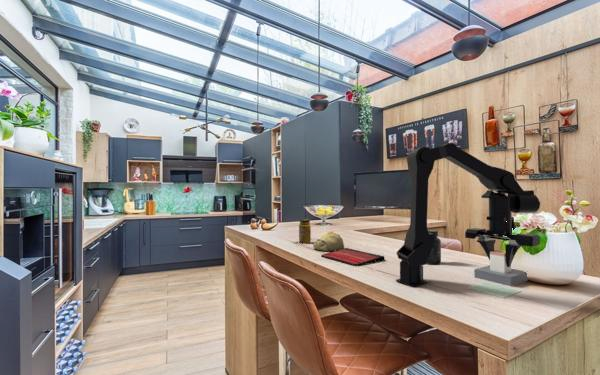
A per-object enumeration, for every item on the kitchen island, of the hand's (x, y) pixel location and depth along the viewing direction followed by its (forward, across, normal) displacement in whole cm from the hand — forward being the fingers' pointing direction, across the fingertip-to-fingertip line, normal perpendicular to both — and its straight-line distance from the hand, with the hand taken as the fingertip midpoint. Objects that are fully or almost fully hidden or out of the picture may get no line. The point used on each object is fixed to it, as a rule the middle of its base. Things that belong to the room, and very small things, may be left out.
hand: (500, 265), depth 92 cm
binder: (+5, +47, +18) cm, 51 cm away
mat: (+5, -4, +12) cm, 13 cm away
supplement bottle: (+5, +25, -2) cm, 26 cm away
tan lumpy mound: (+5, +67, +14) cm, 68 cm away
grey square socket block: (+5, 0, 0) cm, 5 cm away
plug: (+4, 0, 0) cm, 4 cm away
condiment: (+5, +88, +15) cm, 89 cm away
